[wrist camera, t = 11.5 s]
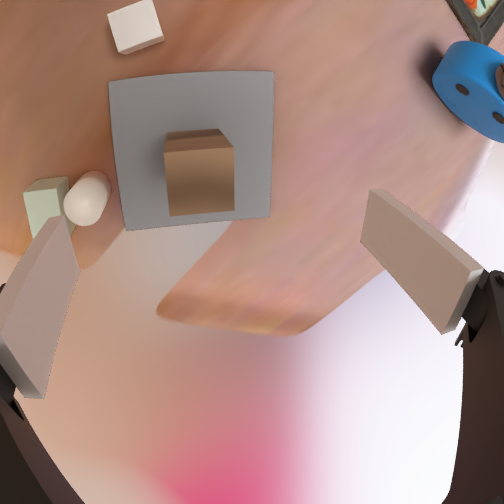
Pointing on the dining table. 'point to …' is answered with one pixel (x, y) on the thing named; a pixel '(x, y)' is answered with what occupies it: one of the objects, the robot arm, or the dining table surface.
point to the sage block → (46, 202)
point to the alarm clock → (473, 86)
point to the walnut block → (199, 172)
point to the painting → (479, 18)
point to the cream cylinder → (87, 198)
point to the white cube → (135, 27)
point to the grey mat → (191, 118)
